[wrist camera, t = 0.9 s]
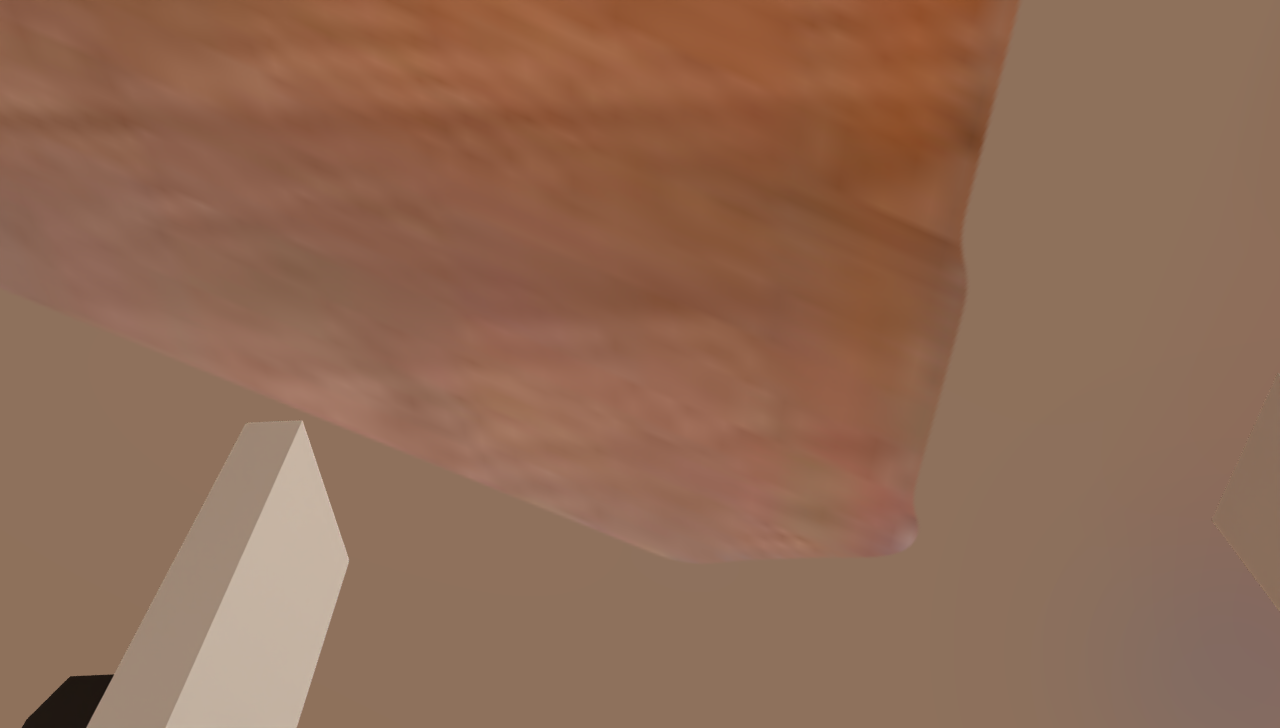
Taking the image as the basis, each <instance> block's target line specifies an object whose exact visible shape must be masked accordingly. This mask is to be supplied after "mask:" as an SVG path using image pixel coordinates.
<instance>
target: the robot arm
mask: <svg viewBox="0 0 1280 728" xmlns="http://www.w3.org/2000/svg"><path fill="white" fill-rule="evenodd" d="M1212 521H1213V523H1214V524H1215V526H1216V527H1217V528H1218V529H1219V531H1220V532H1221V534H1222V535H1223V536H1224V538H1225V539H1226V540H1227V542H1228V543H1229V544H1230V546H1231V547H1232V548H1233V550H1234V551H1235V552H1236V554H1237V555H1238V557H1239V558H1240V559H1241V561H1242V562H1243V563H1244V564H1245V566H1246V567H1247V569H1248V570H1249V571H1250V572H1251V574H1252V575H1253V577H1254V578H1255V579H1256V581H1257V582H1258V583H1259V585H1260V586H1261V587H1262V589H1263V590H1264V591H1265V593H1266V594H1267V595H1268V597H1269V598H1270V600H1271V601H1272V602H1273V604H1274V605H1275V606H1276V608H1277V609H1278V610H1279V612H1280V373H1277V375H1276V377H1275V380H1274V382H1273V384H1272V386H1271V388H1270V391H1269V393H1268V395H1267V397H1266V400H1265V402H1264V404H1263V406H1262V409H1261V411H1260V413H1259V415H1258V417H1257V420H1256V422H1255V424H1254V426H1253V429H1252V431H1251V433H1250V435H1249V437H1248V440H1247V442H1246V444H1245V446H1244V448H1243V451H1242V453H1241V455H1240V457H1239V460H1238V462H1237V464H1236V466H1235V468H1234V471H1233V473H1232V475H1231V478H1230V480H1229V482H1228V484H1227V486H1226V488H1225V491H1224V493H1223V495H1222V497H1221V500H1220V502H1219V504H1218V507H1217V508H1216V511H1215V513H1214V515H1213V518H1212ZM348 563H349V558H348V555H347V553H346V549H345V546H344V543H343V540H342V537H341V534H340V531H339V528H338V526H337V522H336V520H335V517H334V514H333V510H332V508H331V505H330V501H329V498H328V496H327V493H326V489H325V486H324V483H323V480H322V477H321V475H320V472H319V469H318V465H317V463H316V460H315V457H314V454H313V451H312V448H311V445H310V442H309V439H308V436H307V433H306V430H305V427H304V424H303V421H302V420H297V421H276V422H256V423H246V424H245V426H244V428H243V430H242V432H241V433H240V435H239V437H238V439H237V441H236V443H235V445H234V447H233V449H232V451H231V453H230V454H229V456H228V458H227V461H226V462H225V464H224V466H223V468H222V470H221V472H220V474H219V476H218V477H217V479H216V481H215V483H214V485H213V487H212V489H211V491H210V493H209V495H208V496H207V498H206V500H205V502H204V504H203V506H202V508H201V510H200V512H199V514H198V516H197V518H196V519H195V521H194V523H193V525H192V527H191V529H190V531H189V533H188V535H187V537H186V538H185V540H184V542H183V544H182V546H181V548H180V550H179V552H178V554H177V556H176V558H175V559H174V561H173V563H172V565H171V567H170V569H169V571H168V573H167V575H166V577H165V579H164V581H163V582H162V584H161V586H160V588H159V590H158V592H157V594H156V596H155V598H154V600H153V601H152V603H151V605H150V607H149V609H148V611H147V613H146V615H145V617H144V619H143V621H142V622H141V624H140V626H139V628H138V630H137V632H136V634H135V636H134V638H133V640H132V642H131V644H130V645H129V647H128V649H127V651H126V653H125V655H124V657H123V659H122V661H121V663H120V665H119V666H118V668H117V670H116V672H115V674H113V675H92V676H71V677H69V678H68V679H67V680H66V681H65V682H64V683H63V684H62V685H61V686H60V687H59V688H58V689H57V690H56V691H55V692H54V693H53V694H52V695H51V696H50V697H49V698H48V699H47V700H46V701H45V702H44V703H43V704H42V705H41V706H40V707H39V708H38V709H37V710H36V711H35V712H34V713H33V714H32V715H31V716H30V717H29V718H28V719H27V720H26V722H25V723H24V725H23V727H22V728H297V724H298V721H299V718H300V715H301V712H302V709H303V705H304V702H305V699H306V696H307V693H308V690H309V686H310V683H311V680H312V677H313V674H314V670H315V667H316V664H317V661H318V658H319V655H320V652H321V648H322V645H323V642H324V639H325V636H326V632H327V629H328V626H329V623H330V620H331V617H332V613H333V610H334V607H335V604H336V601H337V598H338V594H339V591H340V588H341V585H342V582H343V579H344V576H345V572H346V569H347V566H348Z"/></svg>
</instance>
